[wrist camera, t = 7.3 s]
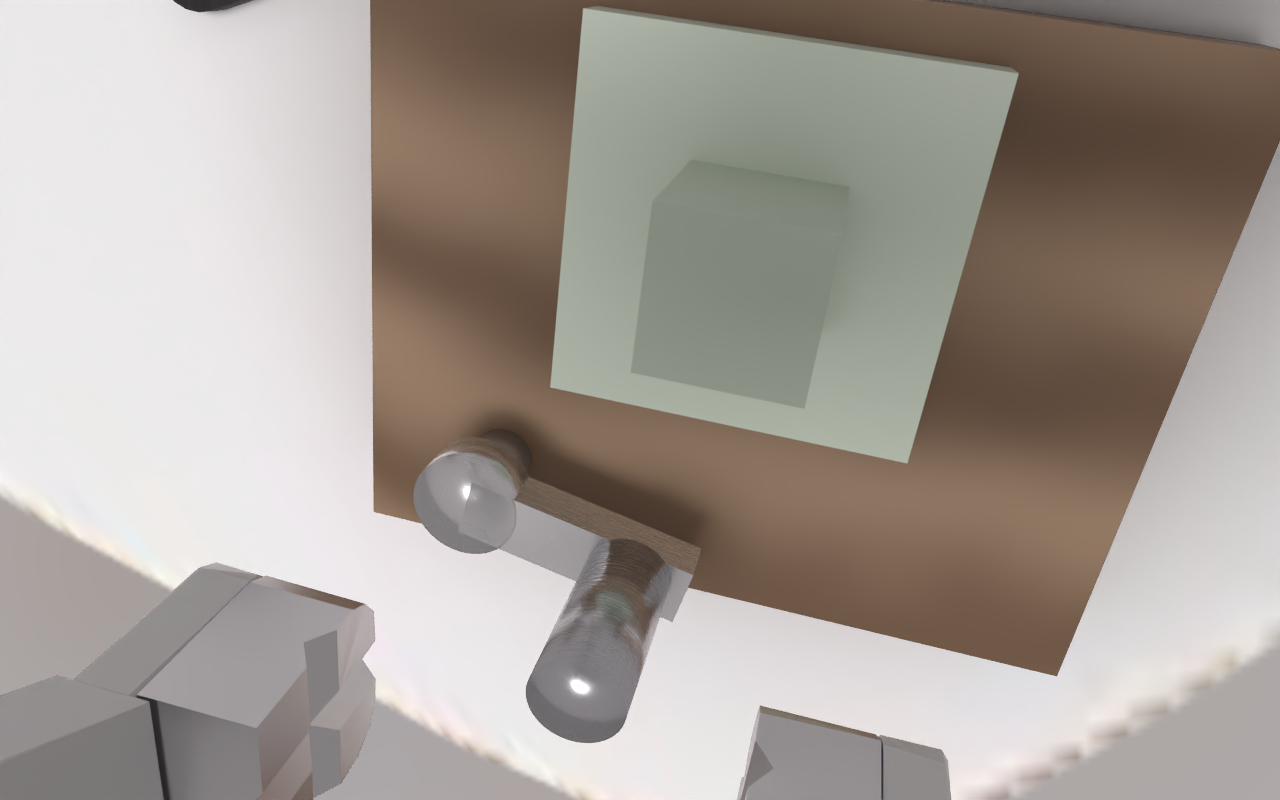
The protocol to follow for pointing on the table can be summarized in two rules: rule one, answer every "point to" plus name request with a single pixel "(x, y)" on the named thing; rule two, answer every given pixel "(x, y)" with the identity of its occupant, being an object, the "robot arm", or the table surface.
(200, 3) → the phone
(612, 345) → the cover
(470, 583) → the table surface
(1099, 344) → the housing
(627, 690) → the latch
